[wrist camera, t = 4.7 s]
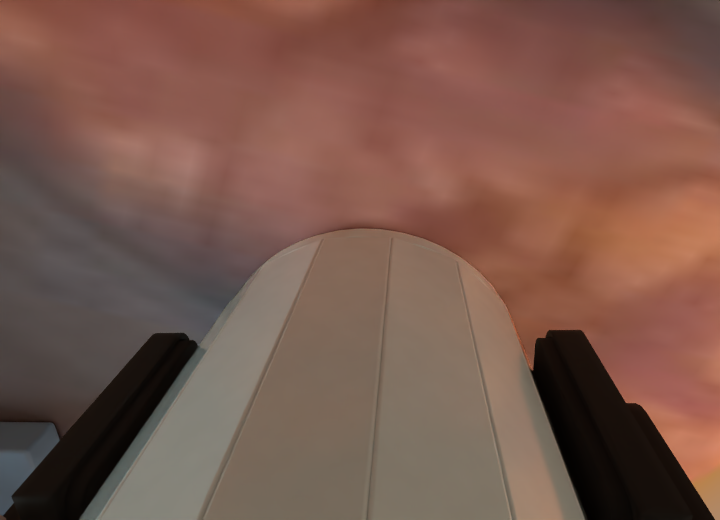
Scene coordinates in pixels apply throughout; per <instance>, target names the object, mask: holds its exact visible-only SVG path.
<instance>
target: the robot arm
mask: <svg viewBox="0 0 720 520" xmlns="http://www.w3.org/2000/svg"><path fill="white" fill-rule="evenodd" d="M197 348H198V346H197V343H196V342H195V341H194V340H189V338H188V336H187V335H186V334H184V333H156V334H153V335H152V336H151V337H150V338H149V339H148V341H147V342H146V343H145V344H144V345H143V346H142V347H141V349H140V350H139V351H138V352H137V353H136V354H135V355H134V356H133V358H132V359H131V360H130V361H129V362H128V363H127V364H126V366H125V367H124V368H123V369H122V370H121V371H120V372H119V374H118V375H117V376H116V377H115V378H114V379H113V380H112V382H111V383H110V384H109V385H108V386H107V387H106V388H105V390H104V391H103V392H102V393H101V394H100V395H99V396H98V398H97V399H96V400H95V401H94V402H93V403H92V404H91V406H90V407H89V408H88V409H87V410H86V411H85V412H84V414H83V415H82V416H81V417H80V418H79V419H78V420H77V422H76V423H75V424H74V425H73V426H72V427H71V428H70V430H69V431H68V432H67V433H66V434H65V435H64V436H63V438H62V439H61V440H60V441H59V442H58V443H57V444H56V446H55V447H54V448H53V449H52V450H51V451H50V452H49V454H48V455H47V456H46V457H45V458H44V459H43V460H42V462H41V463H40V464H39V465H38V466H37V467H36V468H35V470H34V471H33V472H32V473H31V474H30V475H29V476H28V478H27V479H26V480H25V481H24V482H23V483H22V484H21V486H20V487H19V488H18V489H17V490H16V491H15V492H14V494H13V495H12V496H11V497H12V500H13V502H14V503H13V504H12V506H11V507H10V508H9V509H8V510H7V511H6V513H5V514H4V515H3V516H1V515H0V520H79V519H80V517H81V516H82V514H83V513H84V511H85V510H86V509H87V507H88V506H89V504H90V503H91V501H92V500H93V498H94V497H95V496H96V494H97V493H98V491H99V490H100V488H101V487H102V485H103V484H104V482H105V481H106V480H107V478H108V477H109V475H110V474H111V472H112V471H113V469H114V468H115V467H116V465H117V464H118V462H119V461H120V459H121V458H122V456H123V455H124V454H125V452H126V451H127V449H128V448H129V446H130V445H131V443H132V442H133V440H134V439H135V438H136V436H137V435H138V433H139V432H140V430H141V429H142V427H143V426H144V425H145V423H146V422H147V420H148V419H149V417H150V416H151V414H152V413H153V412H154V410H155V409H156V407H157V406H158V404H159V403H160V401H161V400H162V398H163V397H164V396H165V394H166V393H167V391H168V390H169V388H170V387H171V385H172V384H173V383H174V381H175V380H176V378H177V377H178V375H179V374H180V372H181V371H182V370H183V368H184V367H185V365H186V364H187V362H188V361H189V359H190V358H191V356H192V355H193V354H194V352H195V351H196V349H197ZM533 372H534V375H535V377H536V380H537V383H538V385H539V388H540V391H541V393H542V396H543V398H544V401H545V404H546V406H547V409H548V412H549V414H550V417H551V420H552V422H553V425H554V427H555V430H556V433H557V435H558V438H559V441H560V443H561V446H562V449H563V451H564V454H565V457H566V459H567V462H568V464H569V467H570V470H571V472H572V475H573V478H574V480H575V483H576V486H577V488H578V491H579V493H580V496H581V499H582V501H583V504H584V507H585V509H586V512H587V515H588V517H589V520H715V519H714V517H713V516H712V514H711V513H710V511H709V510H708V508H707V506H706V505H705V503H704V502H703V500H702V499H701V497H700V495H699V494H698V492H697V491H696V489H695V488H694V486H693V484H692V483H691V481H690V480H689V478H688V477H687V475H686V474H685V472H684V470H683V469H682V467H681V466H680V464H679V463H678V461H677V459H676V458H675V456H674V455H673V453H672V452H671V450H670V449H669V447H668V445H667V444H666V442H665V441H664V439H663V438H662V436H661V434H660V433H659V431H658V430H657V428H656V427H655V425H654V424H653V422H652V420H651V419H650V417H649V416H648V414H647V413H646V411H645V410H644V409H643V408H642V407H641V406H640V405H638V404H636V403H625V401H624V399H623V398H622V396H621V394H620V393H619V391H618V389H617V388H616V386H615V384H614V383H613V381H612V379H611V378H610V376H609V374H608V373H607V371H606V369H605V368H604V366H603V364H602V363H601V361H600V359H599V358H598V356H597V354H596V353H595V351H594V349H593V348H592V346H591V344H590V343H589V341H588V339H587V338H586V336H585V334H584V333H583V332H582V331H581V330H549V331H548V332H547V335H546V338H538V339H537V340H536V344H535V354H534V367H533Z"/></svg>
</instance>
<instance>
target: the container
mask: <svg viewBox="0 0 720 520" xmlns="http://www.w3.org/2000/svg"><path fill="white" fill-rule="evenodd" d="M79 520H589V517H588V515H587V512H586V509H585V507H584V504H583V501H582V499H581V496H580V493H579V491H578V488H577V486H576V483H575V480H574V478H573V475H572V472H571V470H570V467H569V464H568V462H567V459H566V457H565V454H564V451H563V449H562V446H561V443H560V441H559V438H558V435H557V433H556V430H555V427H554V425H553V422H552V420H551V417H550V414H549V412H548V409H547V406H546V404H545V401H544V398H543V396H542V393H541V391H540V388H539V385H538V383H537V380H536V377H535V375H534V372H533V369H532V367H531V364H530V361H529V359H528V356H527V354H526V351H525V349H524V347H523V344H522V342H521V340H520V337H519V335H518V332H517V330H516V327H515V325H514V322H513V319H512V317H511V315H510V313H509V311H508V309H507V307H506V305H505V303H504V301H503V300H502V298H501V297H500V296H499V294H498V293H497V292H496V290H495V289H494V287H493V286H492V285H491V284H490V283H489V282H488V281H487V280H486V278H485V277H484V276H483V275H482V274H481V273H480V272H479V271H478V270H476V269H475V268H474V267H473V266H471V265H470V264H469V263H468V262H466V261H465V260H464V259H463V258H461V257H459V256H458V255H456V254H454V253H453V252H451V251H449V250H448V249H446V248H444V247H442V246H440V245H437V244H435V243H433V242H431V241H428V240H426V239H423V238H420V237H417V236H413V235H410V234H406V233H403V232H396V231H390V230H384V229H363V228H358V229H347V230H337V231H333V232H328V233H324V234H319V235H316V236H313V237H310V238H307V239H305V240H302V241H299V242H297V243H295V244H293V245H291V246H289V247H287V248H285V249H283V250H282V251H280V252H278V253H277V254H276V255H274V256H273V257H271V258H270V259H269V260H267V261H266V262H265V263H264V264H263V265H261V266H260V267H259V268H258V269H257V270H256V271H255V272H254V273H253V274H252V275H251V276H250V278H249V279H248V280H247V282H246V283H245V284H244V286H243V287H242V288H241V289H240V291H239V292H238V293H237V294H236V296H235V297H234V298H233V299H232V300H231V301H230V302H229V303H228V305H227V306H226V307H225V309H224V310H223V312H222V313H221V314H220V316H219V317H218V319H217V320H216V322H215V323H214V325H213V326H212V328H211V329H210V330H209V332H208V333H207V335H206V336H205V338H204V339H203V341H202V342H201V343H200V345H199V346H198V348H197V349H196V351H195V352H194V354H193V355H192V356H191V358H190V359H189V361H188V362H187V364H186V365H185V367H184V368H183V370H182V371H181V372H180V374H179V375H178V377H177V378H176V380H175V381H174V383H173V384H172V385H171V387H170V388H169V390H168V391H167V393H166V394H165V396H164V397H163V398H162V400H161V401H160V403H159V404H158V406H157V407H156V409H155V410H154V412H153V413H152V414H151V416H150V417H149V419H148V420H147V422H146V423H145V425H144V426H143V427H142V429H141V430H140V432H139V433H138V435H137V436H136V438H135V439H134V440H133V442H132V443H131V445H130V446H129V448H128V449H127V451H126V452H125V454H124V455H123V456H122V458H121V459H120V461H119V462H118V464H117V465H116V467H115V468H114V469H113V471H112V472H111V474H110V475H109V477H108V478H107V480H106V481H105V482H104V484H103V485H102V487H101V488H100V490H99V491H98V493H97V494H96V496H95V497H94V498H93V500H92V501H91V503H90V504H89V506H88V507H87V509H86V510H85V511H84V513H83V514H82V516H81V517H80V519H79Z"/></svg>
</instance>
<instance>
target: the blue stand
mask: <svg viewBox="0 0 720 520" xmlns="http://www.w3.org/2000/svg"><path fill="white" fill-rule="evenodd" d="M59 441H60V439H59V436H58V433H57V431H56V428H55V425H54V424H53V423H51V422H0V515H1V516H3V515H4V514H5V513H6V511H7V510H8V509H9V508H10V507H11V506H12V504H13V503H14V502H13V500H12V497H11V496H12V495H13V494H14V492H15V491H16V490H17V489H18V488H19V487H20V486H21V484H22V483H23V482H24V481H25V480H26V479H27V478H28V476H29V475H30V474H31V473H32V472H33V471H34V470H35V468H36V467H37V466H38V465H39V464H40V463H41V462H42V460H43V459H44V458H45V457H46V456H47V455H48V454H49V452H50V451H51V450H52V449H53V448H54V447H55V446H56V444H57V443H58V442H59Z"/></svg>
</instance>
